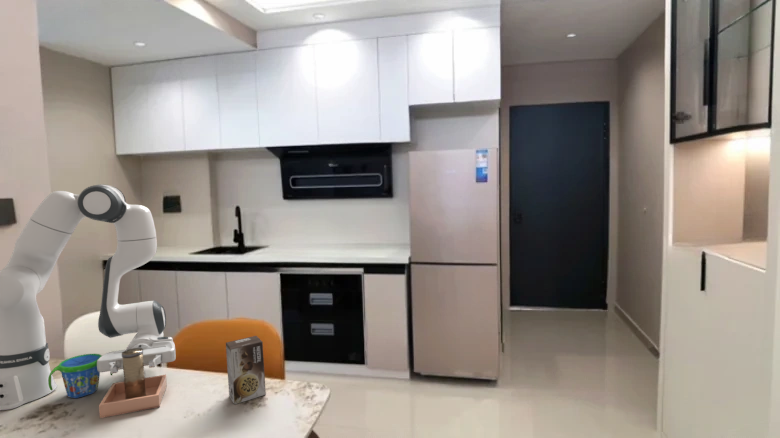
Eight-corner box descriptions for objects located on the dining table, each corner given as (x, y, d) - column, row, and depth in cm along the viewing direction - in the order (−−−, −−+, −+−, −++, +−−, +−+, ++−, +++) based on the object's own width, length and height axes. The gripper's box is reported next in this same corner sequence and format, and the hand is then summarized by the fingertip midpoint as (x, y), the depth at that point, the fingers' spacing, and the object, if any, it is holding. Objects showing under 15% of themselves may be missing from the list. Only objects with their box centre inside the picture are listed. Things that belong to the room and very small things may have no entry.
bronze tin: (123, 405, 116) (119, 356, 115) (127, 396, 121) (124, 349, 120) (144, 401, 118) (141, 353, 117) (147, 392, 123) (144, 346, 122)
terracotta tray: (99, 418, 110) (98, 405, 110) (113, 394, 123) (113, 383, 123) (159, 407, 115) (158, 394, 115) (166, 385, 128) (166, 374, 128)
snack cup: (114, 379, 133) (112, 348, 133) (114, 392, 125) (111, 359, 124) (52, 393, 125) (49, 360, 124) (47, 408, 116) (44, 373, 115)
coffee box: (259, 386, 126) (256, 334, 125) (266, 395, 120) (263, 341, 119) (228, 396, 121) (225, 341, 119) (233, 405, 115) (230, 348, 114)
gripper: (103, 345, 127) (88, 363, 114) (177, 336, 134) (171, 351, 121) (104, 366, 127) (90, 385, 114) (178, 355, 135) (173, 372, 122)
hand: (132, 367), depth 118 cm, fingers open, 8 cm apart
